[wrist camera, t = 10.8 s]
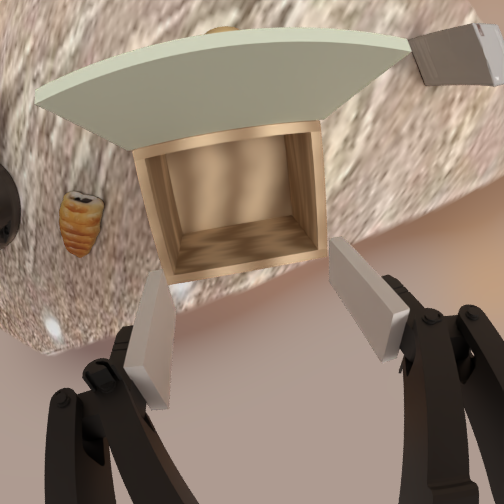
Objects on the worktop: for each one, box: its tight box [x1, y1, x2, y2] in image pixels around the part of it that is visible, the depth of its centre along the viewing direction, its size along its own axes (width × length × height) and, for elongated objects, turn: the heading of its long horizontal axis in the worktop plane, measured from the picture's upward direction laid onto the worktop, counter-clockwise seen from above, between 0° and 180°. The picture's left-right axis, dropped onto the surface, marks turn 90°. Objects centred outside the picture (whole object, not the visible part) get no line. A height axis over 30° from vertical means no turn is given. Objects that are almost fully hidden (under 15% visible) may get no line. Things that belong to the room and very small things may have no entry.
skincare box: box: [408, 23, 504, 87], centre depth 25 cm, size 8×7×16 cm
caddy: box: [132, 120, 327, 285], centre depth 32 cm, size 17×14×12 cm
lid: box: [35, 26, 412, 151], centre depth 16 cm, size 18×14×2 cm
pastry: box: [59, 191, 104, 258], centre depth 35 cm, size 9×7×4 cm
